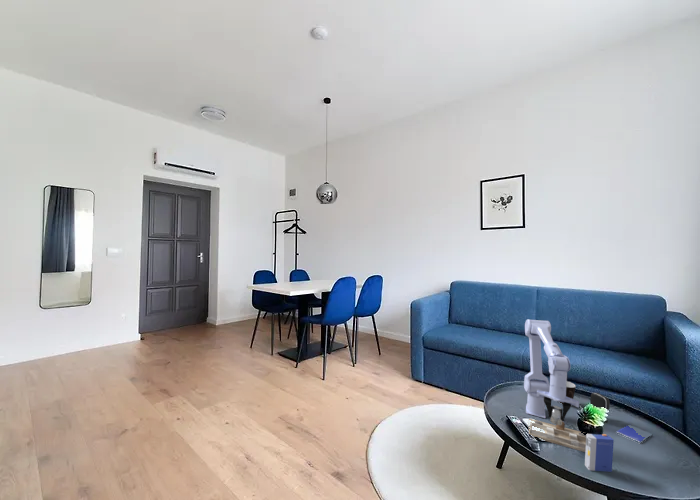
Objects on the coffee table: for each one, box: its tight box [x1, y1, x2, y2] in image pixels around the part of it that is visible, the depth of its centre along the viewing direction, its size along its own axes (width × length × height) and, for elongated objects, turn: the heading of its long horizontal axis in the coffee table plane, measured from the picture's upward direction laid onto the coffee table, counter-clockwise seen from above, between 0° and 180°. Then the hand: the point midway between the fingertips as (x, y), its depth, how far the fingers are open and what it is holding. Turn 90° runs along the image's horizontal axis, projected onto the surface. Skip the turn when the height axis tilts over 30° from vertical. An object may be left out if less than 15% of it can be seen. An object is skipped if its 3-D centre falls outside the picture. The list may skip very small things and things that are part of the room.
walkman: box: [584, 433, 615, 473], centre depth 115 cm, size 8×3×12 cm, turn 86°
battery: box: [589, 392, 611, 423], centre depth 149 cm, size 7×4×11 cm, turn 13°
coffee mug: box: [560, 380, 576, 404], centre depth 162 cm, size 12×9×10 cm
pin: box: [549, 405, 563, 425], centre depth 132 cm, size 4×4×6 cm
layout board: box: [528, 417, 586, 453], centre depth 134 cm, size 14×24×4 cm, turn 61°
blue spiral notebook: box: [615, 425, 645, 442], centre depth 138 cm, size 2×8×12 cm
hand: (556, 418), depth 132 cm, fingers closed on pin, 4 cm apart
